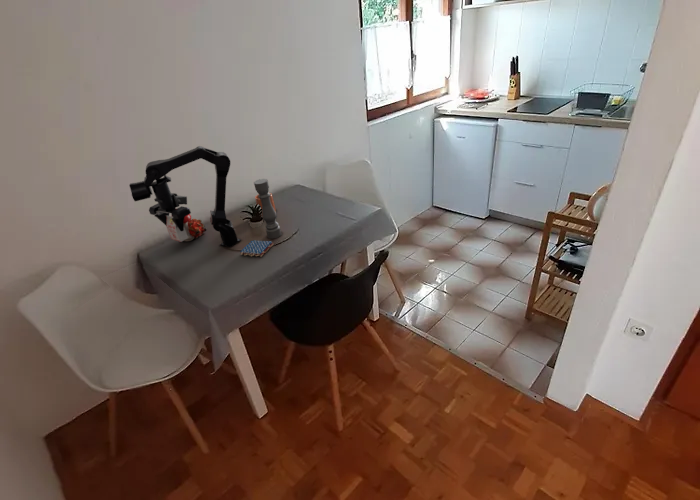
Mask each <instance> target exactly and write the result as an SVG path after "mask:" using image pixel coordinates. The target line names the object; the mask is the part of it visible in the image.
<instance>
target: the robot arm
mask: <svg viewBox="0 0 700 500" xmlns="http://www.w3.org/2000/svg"><path fill="white" fill-rule="evenodd" d="M229 157H230V156H229V155H228V154H227V153H225V152H224V151H215V150H213V149H209V148H206V147H204V146H201V145H199V146H196V147H195V148H193V149H190V150H188V151H185V152H182V153H180V154H177V155H174V156H172V157H170V158H165V159H158V160H153V161H150V162H147V164H146V165H145V177H144V180H142V181H137V182H132V183H129V189H130V193H131V197H132V199H133V201H134V202H139V201H144V200H147V199H150V198H151V197H152V195H153V194H154V196H155V198H154V202H157V203H156V204H154V205H151V206H149V209H148V212H149V214H150V215H152V216H154V217H155V218H156V219H158V220H159V221H160V222H161V223H162V224H163V225H164V226H166V223H167V217H166V216H167V215H168V216H172V217H173V218H172V221H173V222H174V223H175V224H176V226H177V227H178V228H179V230H180V231H183V230H184V217H185V216H187V215H189V214H190V215H191V214H192V212H191V208H190V207H187V206H180V205H188V196H185V195H178V193H176V192H175V193H174V192H173V193H172V192H171V190H170V187H169V184H168V183H171V182H172V178H171V177H170V176H168V174H169V173H170V172H171V171H173V170H176V169H177V168H181V167H183V166H186V165H187V164H190V163H193V162H196V161H198V160H201V159H202V160H204V161H206V162H208V163H210V164H212V165H214V170H215V199H214V208H213V210H210V217H209V221H210V225H212V228H213V230H215V231H216V232H219V235H220V239H221V241H222V242H221V243H220V246H223V247H228V248H232V247H233V246H235V245H236V244H238V243H239V242H241V241H242V239H241V238H238V236H237V233H236V229H235V228H234V224H233V222H232V220H230V219H228V218H227V215H226V194H227V193H226V192H227V177H228V174H229V171H230V168H231V159H230V158H229ZM170 214H171V215H170Z"/></svg>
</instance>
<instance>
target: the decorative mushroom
mask: <svg viewBox="0 0 700 500" xmlns="http://www.w3.org/2000/svg"><path fill="white" fill-rule="evenodd" d="M170 216H171V217H172V215H170ZM190 220H192V215H191V213H190V214H189V215H187V216H185V217H184V228H185V230H186V233H187V236H188V238H187V239H185V240H183V241H182V242H191V241H193V240H194V239H195V238H194V236H191V235H190V234H189V229H188V224H187V223H188V222H189V221H190Z"/></svg>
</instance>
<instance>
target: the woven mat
mask: <svg viewBox="0 0 700 500" xmlns="http://www.w3.org/2000/svg"><path fill="white" fill-rule="evenodd" d="M273 246H274V242H273V241H269V240H255V239H254V240H250V242H248V244H246V246H244V248H241V249H242V250H239V252H240V255H241V256H242V255H243V256H249V257H254V256H255V257H260V258H262V257H263V256H264V254H266V253H267V252H269V250H270V248H272V247H273Z"/></svg>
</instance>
